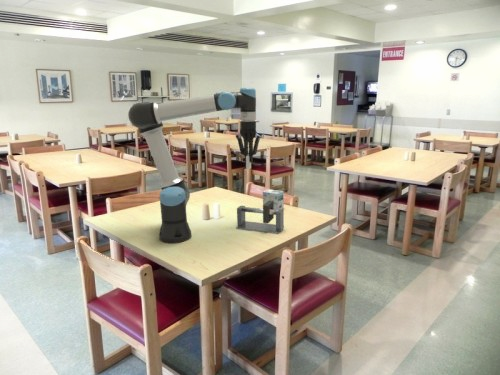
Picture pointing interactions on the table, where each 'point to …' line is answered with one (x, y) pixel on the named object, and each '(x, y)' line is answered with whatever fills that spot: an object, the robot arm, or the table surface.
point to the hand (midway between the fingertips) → (248, 168)
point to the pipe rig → (260, 226)
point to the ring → (266, 207)
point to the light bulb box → (274, 198)
